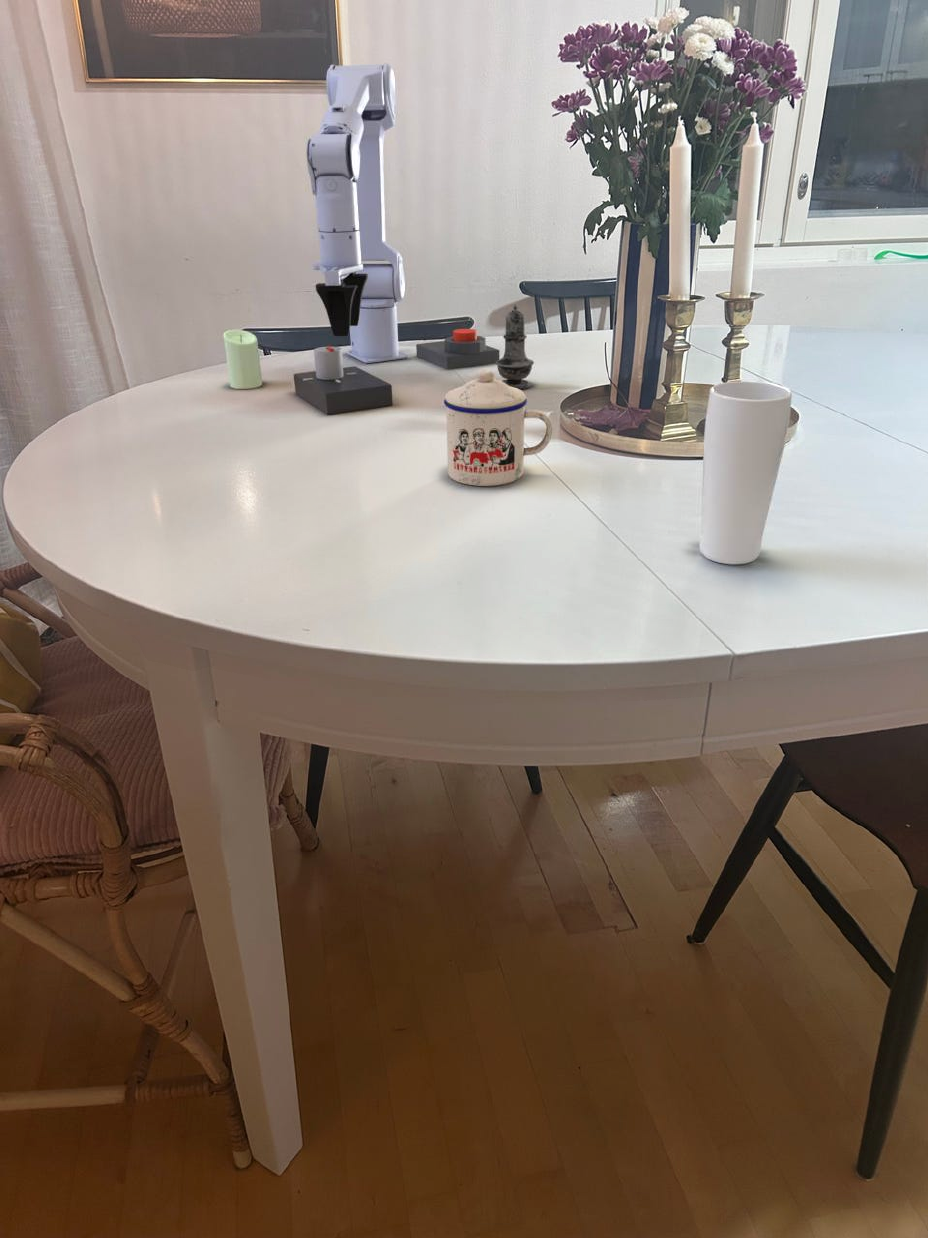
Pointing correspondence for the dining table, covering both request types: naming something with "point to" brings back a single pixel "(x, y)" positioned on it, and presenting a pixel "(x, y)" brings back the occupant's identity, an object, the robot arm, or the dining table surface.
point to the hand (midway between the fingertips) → (346, 330)
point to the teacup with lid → (488, 431)
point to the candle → (242, 359)
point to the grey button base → (458, 353)
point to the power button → (465, 335)
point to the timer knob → (328, 363)
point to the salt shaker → (515, 352)
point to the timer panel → (344, 391)
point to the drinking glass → (741, 466)
